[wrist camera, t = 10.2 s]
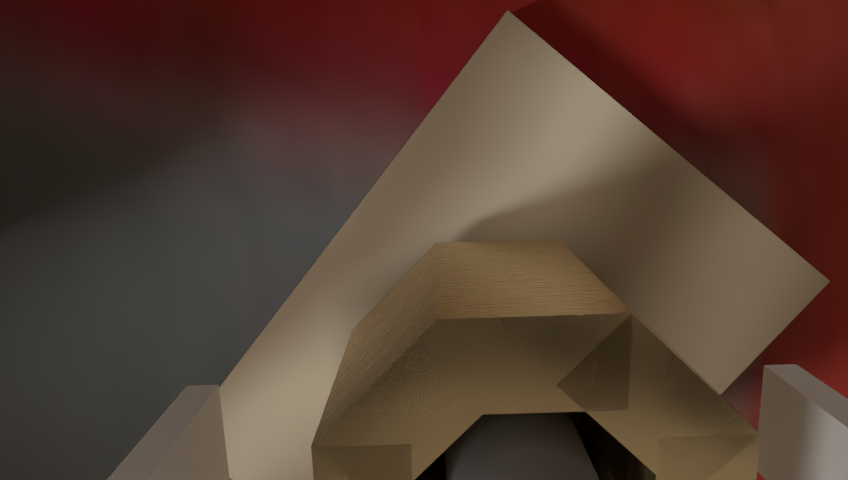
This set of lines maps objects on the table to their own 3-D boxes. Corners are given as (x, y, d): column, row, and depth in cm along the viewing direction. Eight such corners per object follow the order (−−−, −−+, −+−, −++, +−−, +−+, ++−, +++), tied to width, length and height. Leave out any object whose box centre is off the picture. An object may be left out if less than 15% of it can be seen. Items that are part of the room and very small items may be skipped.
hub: (192, 422, 20) (29, 637, 12) (502, 16, 17) (566, -67, 9) (476, 615, 21) (504, 921, 13) (804, 270, 18) (1092, 394, 10)
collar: (365, 508, 18) (332, 703, 12) (347, 245, 16) (300, 323, 10) (635, 501, 18) (737, 694, 12) (646, 235, 16) (771, 308, 10)
